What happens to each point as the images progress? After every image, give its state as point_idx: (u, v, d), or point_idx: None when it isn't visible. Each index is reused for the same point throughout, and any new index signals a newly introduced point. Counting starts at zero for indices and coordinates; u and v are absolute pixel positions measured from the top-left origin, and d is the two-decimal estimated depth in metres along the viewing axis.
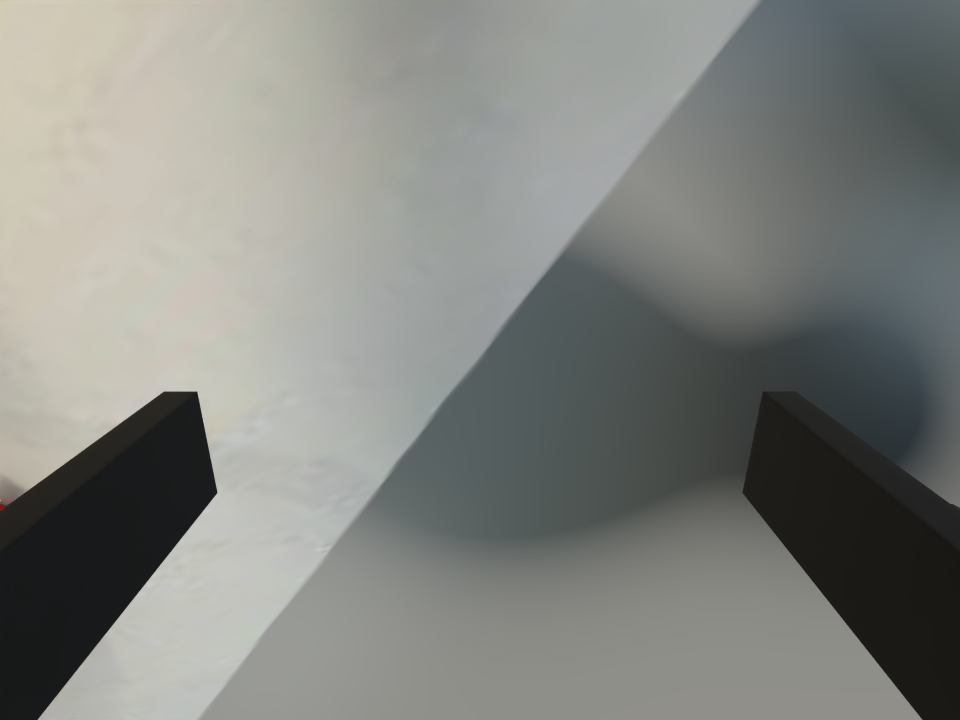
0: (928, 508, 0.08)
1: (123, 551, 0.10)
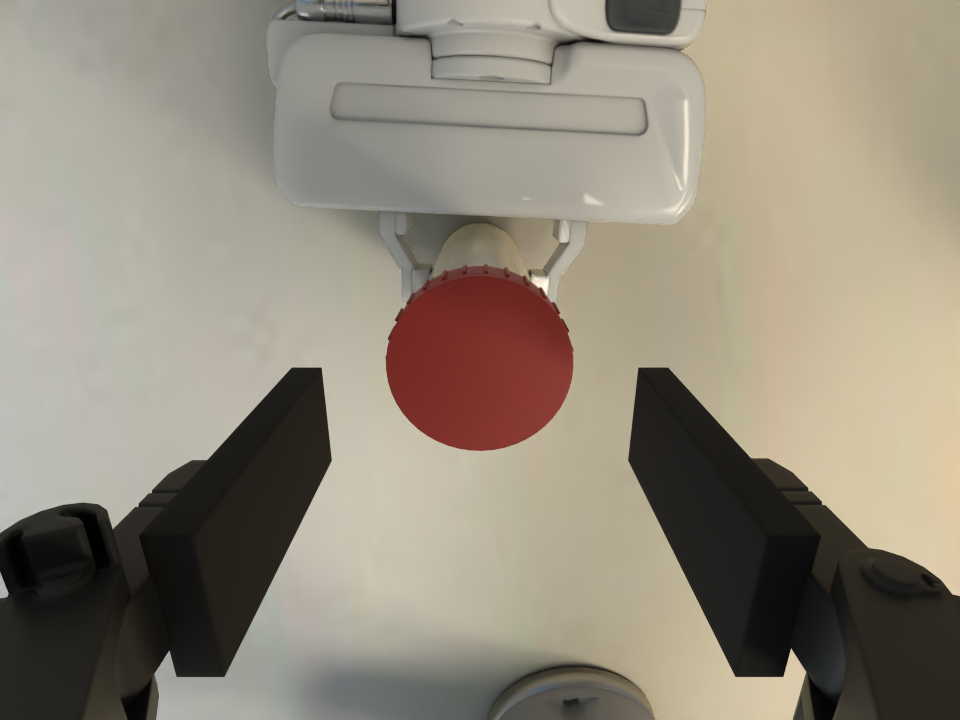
0: (726, 456, 0.10)
1: (285, 501, 0.11)
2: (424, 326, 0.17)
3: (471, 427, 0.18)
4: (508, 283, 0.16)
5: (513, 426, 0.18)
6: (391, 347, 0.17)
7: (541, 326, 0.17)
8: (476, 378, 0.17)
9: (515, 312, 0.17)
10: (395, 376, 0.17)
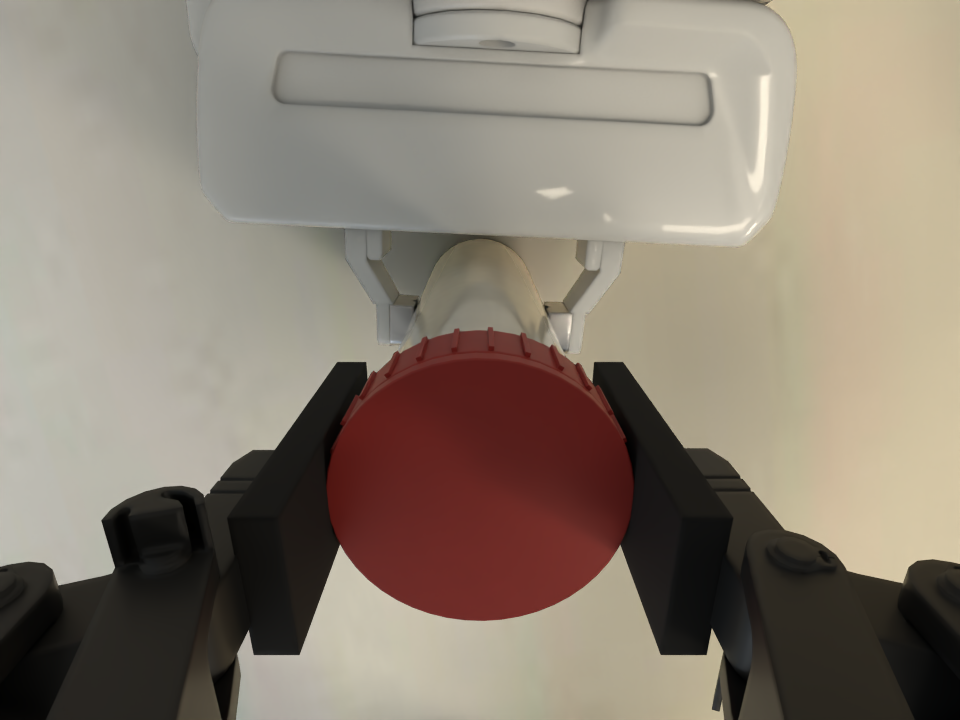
0: (660, 445, 0.10)
1: None
2: (387, 437, 0.10)
3: (466, 588, 0.11)
4: (529, 370, 0.09)
5: (534, 586, 0.11)
6: (333, 470, 0.10)
7: (583, 438, 0.10)
8: (474, 517, 0.11)
9: (540, 416, 0.10)
10: (341, 514, 0.11)
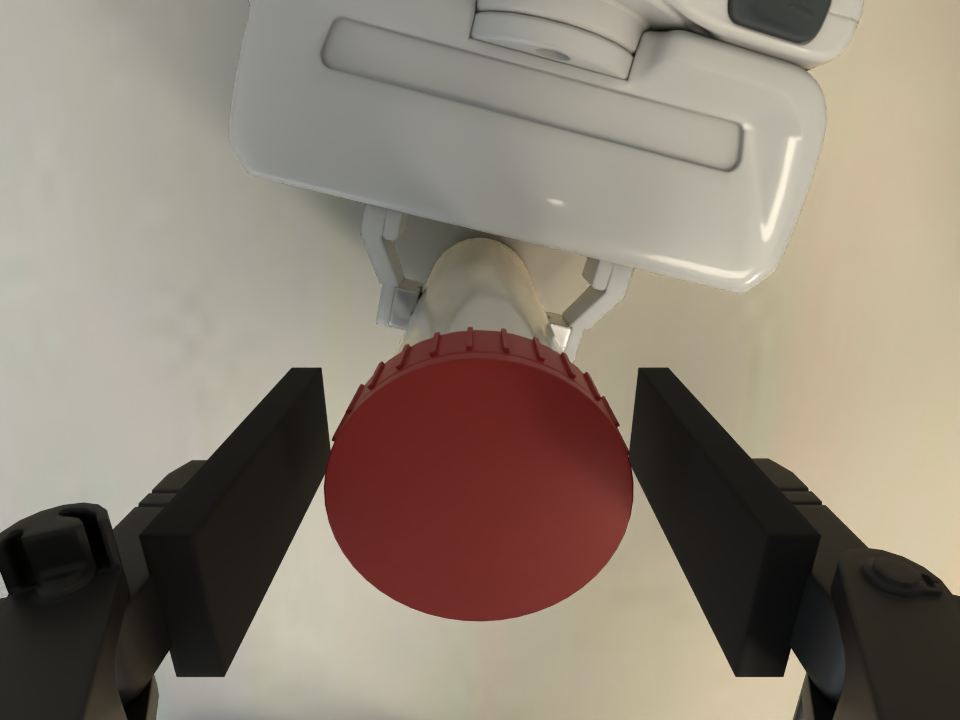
0: (726, 456, 0.10)
1: (285, 501, 0.11)
2: (421, 580, 0.11)
3: (587, 504, 0.10)
4: (328, 480, 0.10)
5: (581, 440, 0.10)
6: (461, 616, 0.11)
7: (388, 423, 0.10)
8: (496, 506, 0.10)
9: (373, 464, 0.10)
10: (507, 609, 0.11)
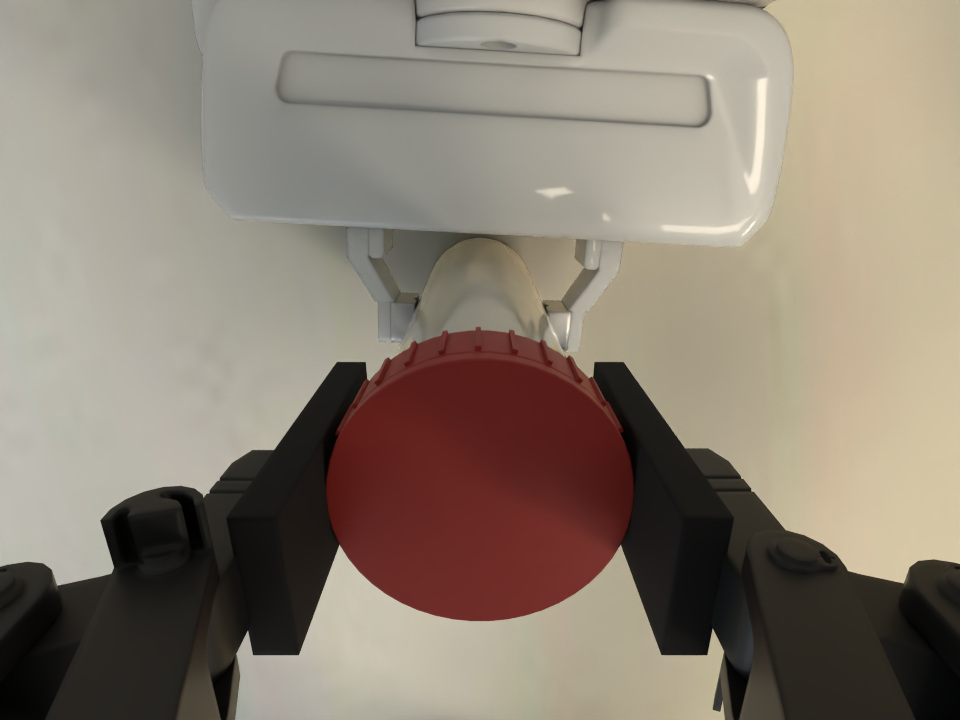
0: (660, 445, 0.10)
1: None
2: (439, 587, 0.11)
3: (588, 487, 0.10)
4: (330, 503, 0.10)
5: (569, 425, 0.10)
6: (486, 617, 0.11)
7: (376, 438, 0.10)
8: (497, 503, 0.10)
9: (369, 481, 0.10)
10: (530, 604, 0.11)
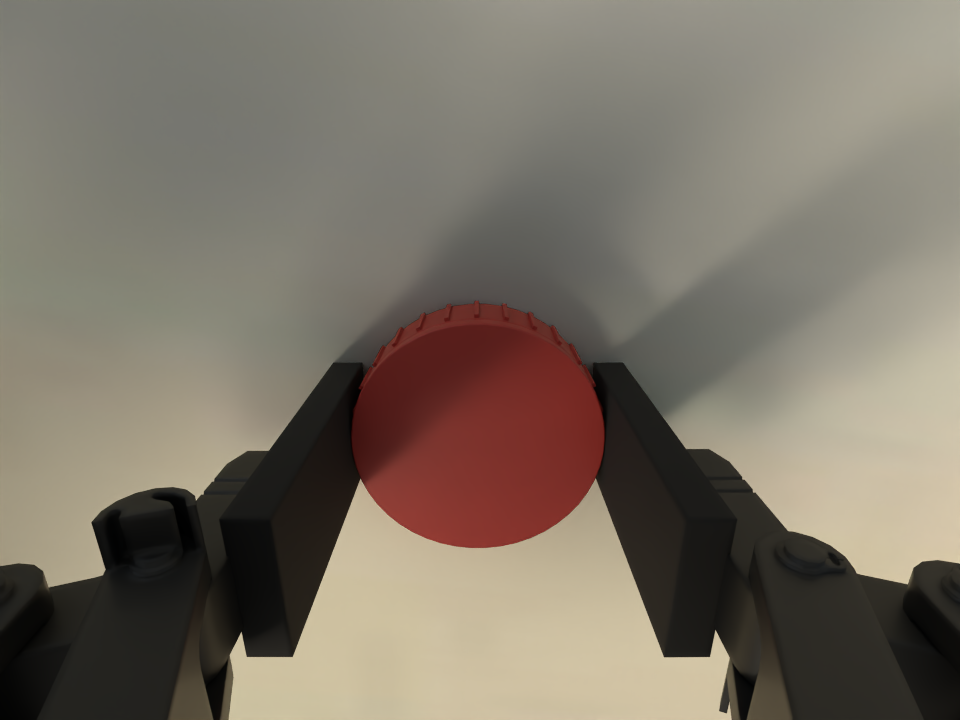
0: (662, 446, 0.10)
1: (336, 491, 0.11)
2: (444, 518, 0.13)
3: (567, 431, 0.13)
4: (354, 445, 0.13)
5: (550, 379, 0.12)
6: (483, 544, 0.14)
7: (393, 390, 0.12)
8: (492, 445, 0.13)
9: (387, 426, 0.13)
10: (519, 532, 0.14)
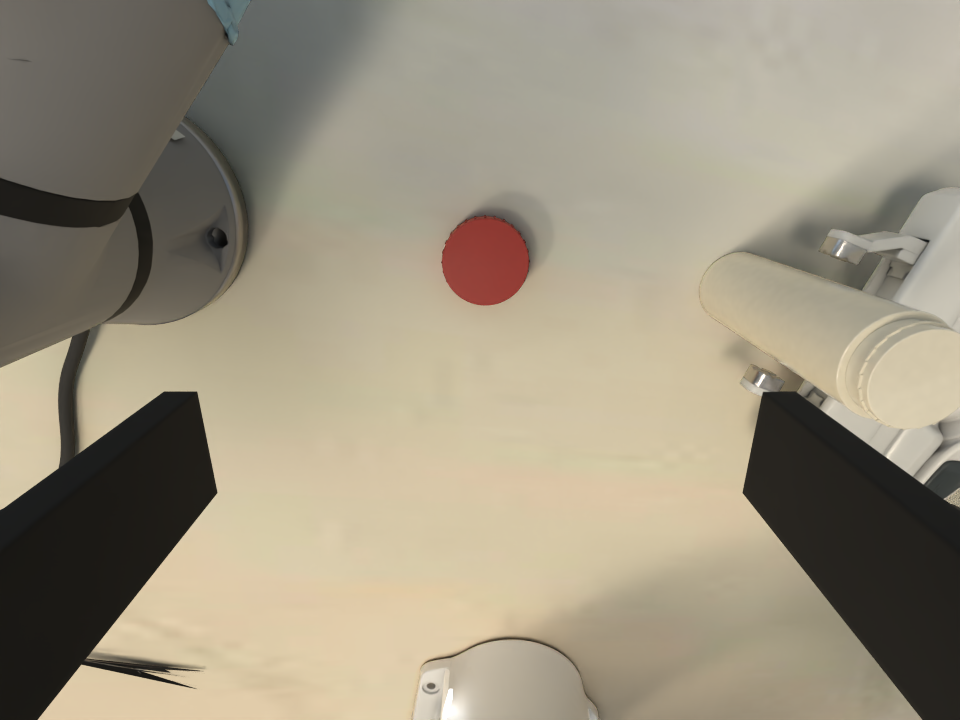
0: (928, 508, 0.08)
1: (123, 551, 0.10)
2: (473, 292, 0.38)
3: (515, 257, 0.37)
4: (443, 263, 0.37)
5: (509, 238, 0.37)
6: (487, 303, 0.38)
7: (457, 242, 0.37)
8: (490, 263, 0.37)
9: (454, 256, 0.37)
10: (500, 298, 0.38)
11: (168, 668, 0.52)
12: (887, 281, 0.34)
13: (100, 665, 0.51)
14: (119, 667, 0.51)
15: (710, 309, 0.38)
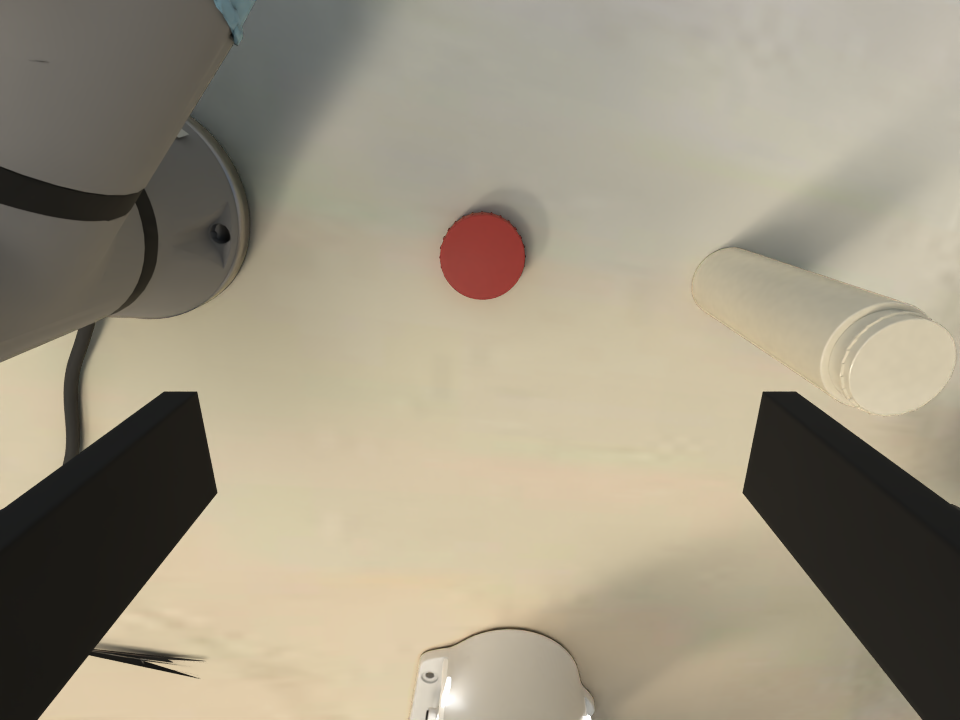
0: (928, 508, 0.08)
1: (123, 551, 0.10)
2: (470, 286, 0.39)
3: (512, 253, 0.38)
4: (441, 258, 0.38)
5: (506, 233, 0.37)
6: (484, 298, 0.39)
7: (455, 238, 0.38)
8: (487, 258, 0.38)
9: (452, 251, 0.38)
10: (497, 293, 0.39)
11: (171, 658, 0.53)
12: None
13: (104, 655, 0.52)
14: (123, 657, 0.52)
15: (702, 303, 0.39)
